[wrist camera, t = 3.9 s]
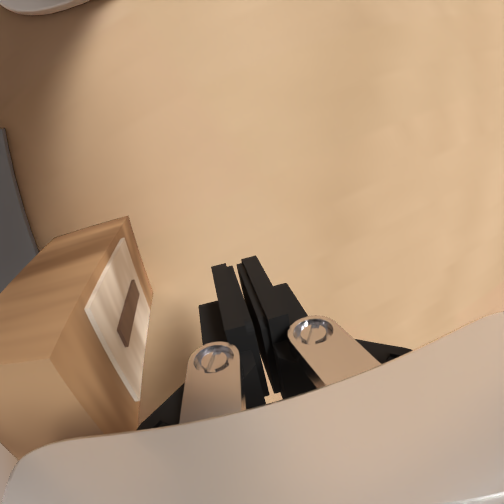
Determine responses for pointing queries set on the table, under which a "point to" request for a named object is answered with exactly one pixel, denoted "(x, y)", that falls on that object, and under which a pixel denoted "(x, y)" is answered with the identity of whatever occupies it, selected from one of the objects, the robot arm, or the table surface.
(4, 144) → the charcoal mat
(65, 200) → the table surface
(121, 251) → the cardboard box
